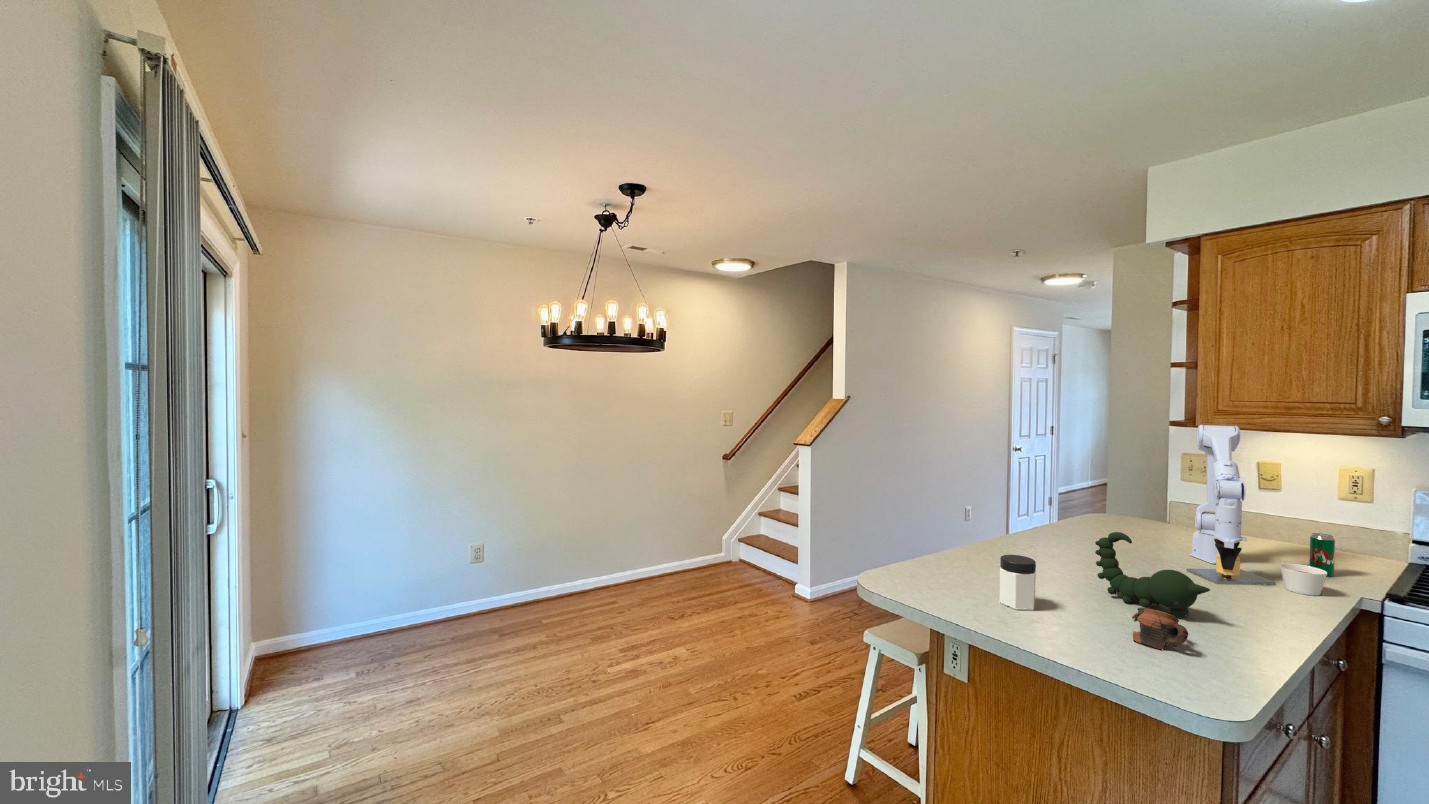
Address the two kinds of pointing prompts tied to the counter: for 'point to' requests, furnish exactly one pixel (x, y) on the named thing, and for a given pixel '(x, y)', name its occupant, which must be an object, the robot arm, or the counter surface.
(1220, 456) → the robot arm
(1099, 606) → the counter surface
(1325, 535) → the soda can
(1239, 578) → the plate
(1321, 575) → the candle
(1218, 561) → the orange cap
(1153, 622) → the pottery mug
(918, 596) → the counter surface
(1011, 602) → the jar
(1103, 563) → the toy figurine
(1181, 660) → the counter surface
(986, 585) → the counter surface
